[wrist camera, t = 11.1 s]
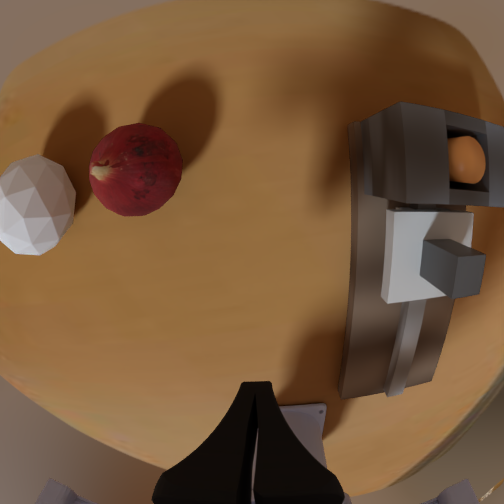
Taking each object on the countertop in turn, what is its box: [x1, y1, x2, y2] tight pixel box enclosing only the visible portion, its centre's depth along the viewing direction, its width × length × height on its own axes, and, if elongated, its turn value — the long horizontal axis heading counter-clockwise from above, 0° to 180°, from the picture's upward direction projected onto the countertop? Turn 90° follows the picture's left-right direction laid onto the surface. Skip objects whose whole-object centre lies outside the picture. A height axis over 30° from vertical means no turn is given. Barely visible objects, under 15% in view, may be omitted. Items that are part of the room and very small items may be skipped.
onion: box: [89, 123, 183, 216], centre depth 15 cm, size 6×6×8 cm
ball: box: [0, 154, 76, 255], centre depth 17 cm, size 8×8×8 cm
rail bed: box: [338, 102, 504, 399], centre depth 17 cm, size 23×10×8 cm, turn 3°
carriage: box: [381, 207, 486, 304], centre depth 15 cm, size 6×7×6 cm
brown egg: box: [447, 136, 486, 184], centre depth 13 cm, size 3×3×4 cm
